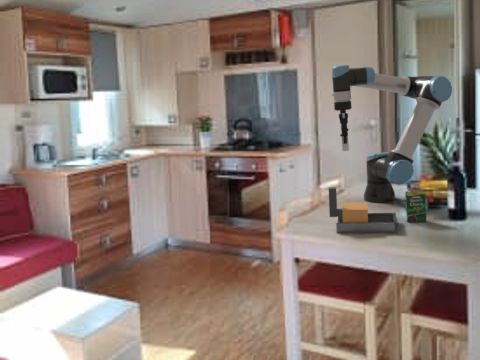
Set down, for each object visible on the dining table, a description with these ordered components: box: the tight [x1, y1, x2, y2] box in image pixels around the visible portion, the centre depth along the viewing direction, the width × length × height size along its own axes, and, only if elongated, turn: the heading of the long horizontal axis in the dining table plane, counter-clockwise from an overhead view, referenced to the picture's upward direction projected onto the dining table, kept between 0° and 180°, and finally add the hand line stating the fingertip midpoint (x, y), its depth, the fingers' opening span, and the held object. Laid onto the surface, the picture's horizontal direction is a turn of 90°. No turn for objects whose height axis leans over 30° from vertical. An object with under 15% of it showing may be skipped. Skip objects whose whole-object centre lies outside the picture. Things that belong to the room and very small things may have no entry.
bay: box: [335, 212, 399, 234], centre depth 233 cm, size 24×16×4 cm, turn 78°
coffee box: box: [405, 189, 427, 223], centre depth 236 cm, size 8×3×13 cm, turn 80°
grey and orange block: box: [328, 186, 369, 223], centre depth 233 cm, size 16×12×16 cm
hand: (345, 148), depth 253 cm, fingers open, 13 cm apart
